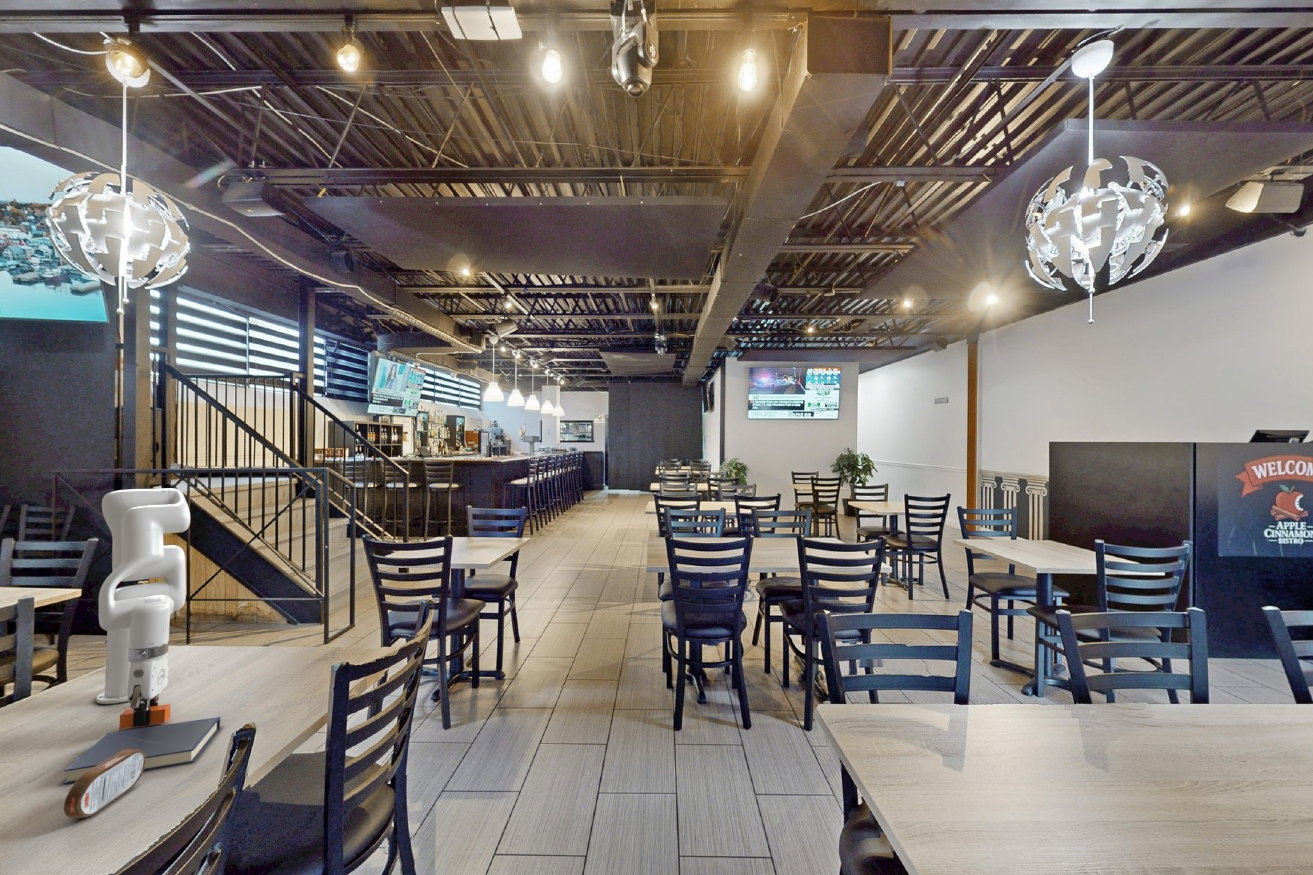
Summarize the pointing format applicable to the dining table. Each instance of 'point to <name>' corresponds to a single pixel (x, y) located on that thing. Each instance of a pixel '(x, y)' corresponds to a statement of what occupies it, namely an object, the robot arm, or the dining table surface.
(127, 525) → the robot arm
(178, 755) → the book
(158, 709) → the long orange block
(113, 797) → the tin
